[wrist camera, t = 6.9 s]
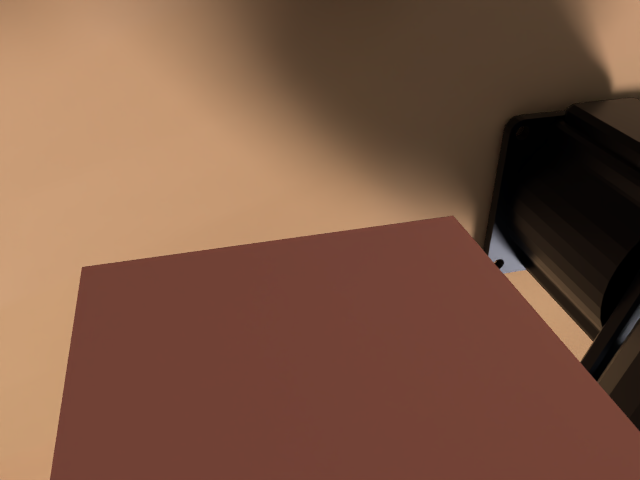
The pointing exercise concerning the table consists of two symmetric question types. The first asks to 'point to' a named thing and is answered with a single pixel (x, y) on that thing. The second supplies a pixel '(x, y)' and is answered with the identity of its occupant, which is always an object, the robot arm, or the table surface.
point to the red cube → (329, 368)
